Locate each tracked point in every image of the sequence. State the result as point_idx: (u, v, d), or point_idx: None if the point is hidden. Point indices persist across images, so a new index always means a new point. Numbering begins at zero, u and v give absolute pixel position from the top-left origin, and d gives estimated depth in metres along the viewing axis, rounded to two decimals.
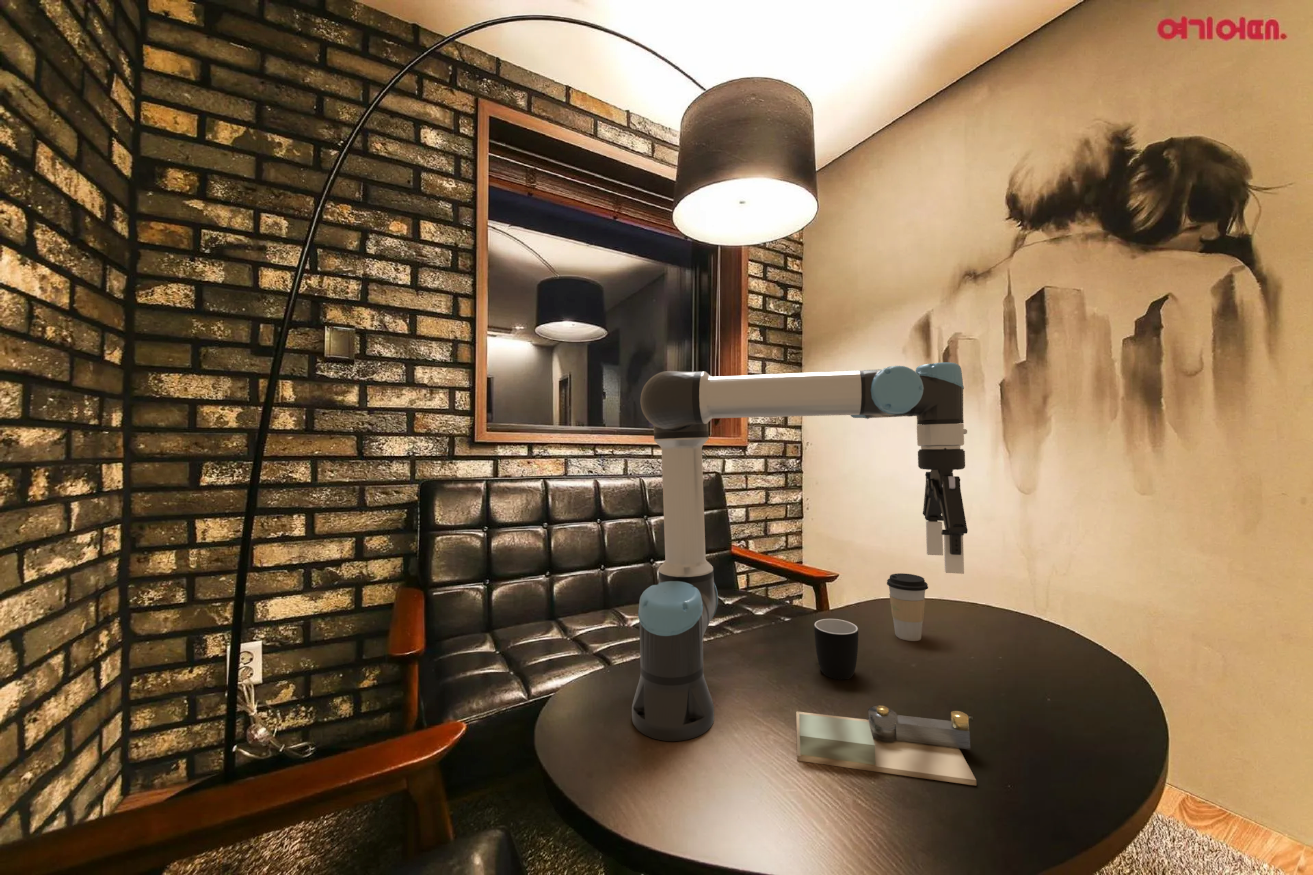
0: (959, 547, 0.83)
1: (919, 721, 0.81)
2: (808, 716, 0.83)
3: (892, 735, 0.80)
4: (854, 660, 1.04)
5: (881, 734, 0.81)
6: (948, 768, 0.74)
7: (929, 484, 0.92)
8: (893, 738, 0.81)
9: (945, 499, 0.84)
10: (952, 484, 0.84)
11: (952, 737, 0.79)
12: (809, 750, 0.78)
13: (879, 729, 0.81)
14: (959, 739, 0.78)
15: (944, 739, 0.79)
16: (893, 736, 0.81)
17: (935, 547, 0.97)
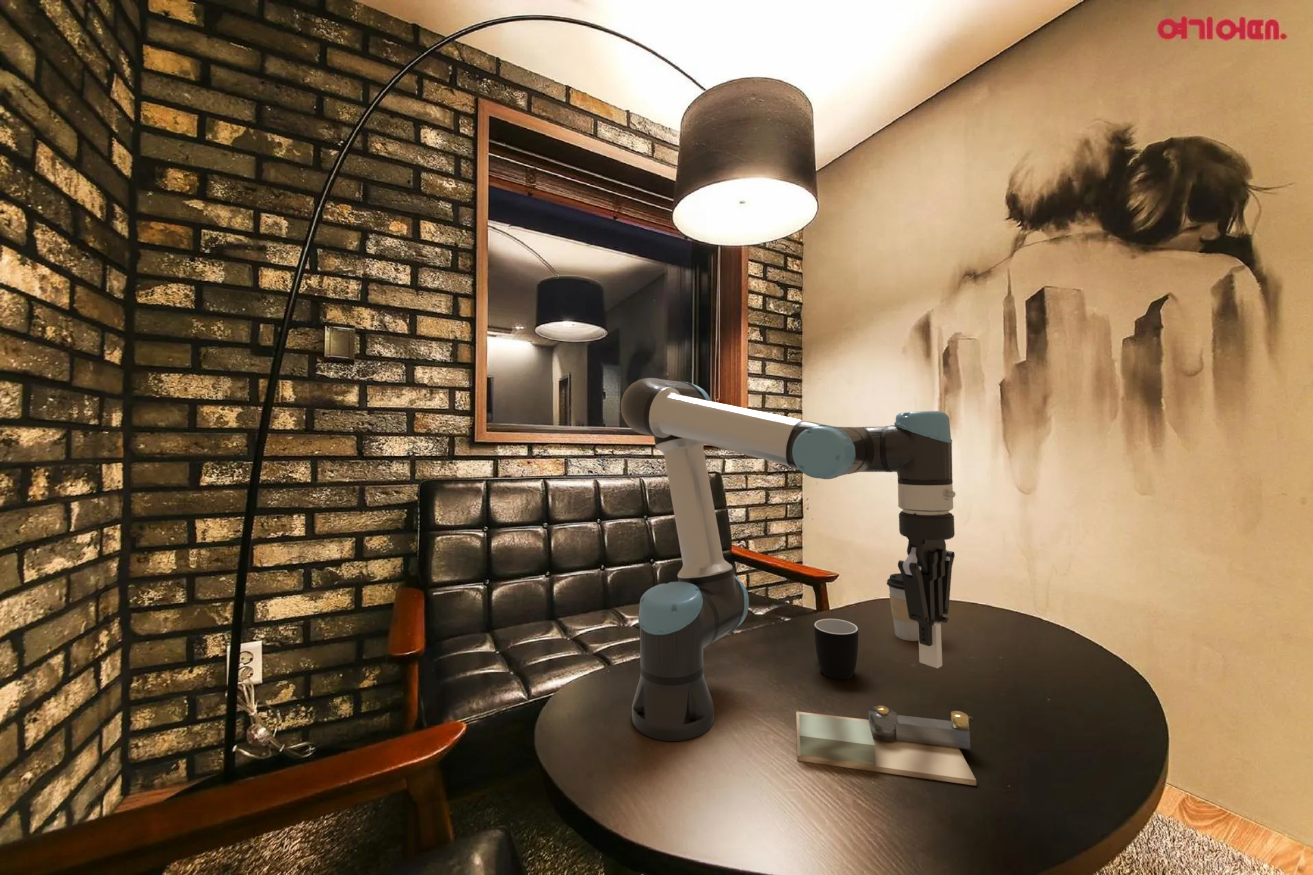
0: (926, 637, 0.75)
1: (919, 721, 0.81)
2: (808, 716, 0.83)
3: (892, 735, 0.80)
4: (854, 660, 1.04)
5: (881, 734, 0.81)
6: (948, 768, 0.74)
7: None
8: (893, 738, 0.81)
9: None
10: (908, 572, 0.73)
11: (952, 737, 0.79)
12: (809, 750, 0.78)
13: (879, 729, 0.81)
14: (959, 739, 0.78)
15: (944, 739, 0.79)
16: (893, 736, 0.81)
17: None
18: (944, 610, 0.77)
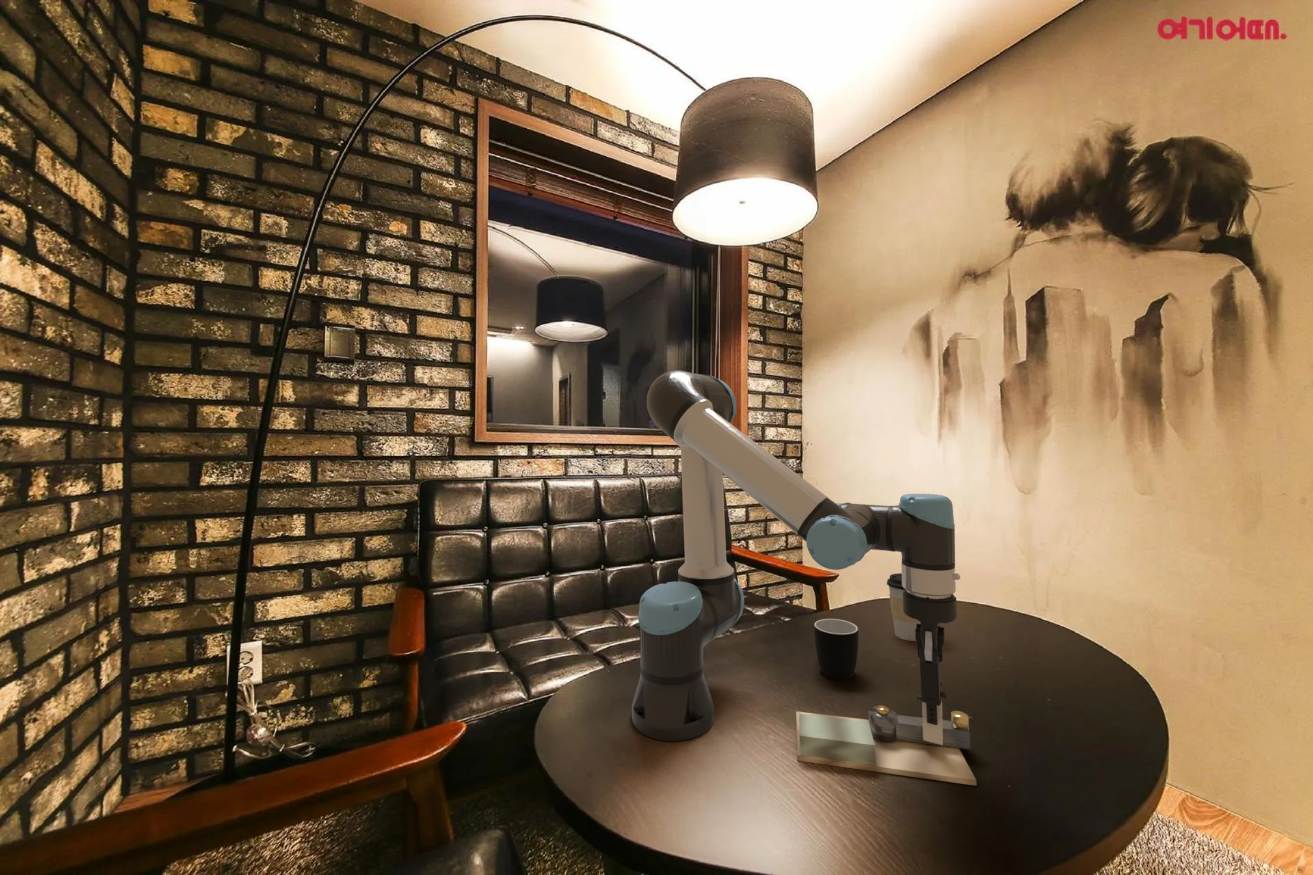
0: (935, 717, 0.77)
1: (919, 721, 0.81)
2: (808, 716, 0.83)
3: (892, 735, 0.80)
4: (854, 660, 1.04)
5: (881, 734, 0.81)
6: (948, 768, 0.74)
7: (917, 629, 0.80)
8: (893, 738, 0.81)
9: None
10: (928, 659, 0.74)
11: (952, 737, 0.79)
12: (809, 750, 0.78)
13: (879, 729, 0.81)
14: (959, 739, 0.78)
15: (944, 739, 0.79)
16: (893, 736, 0.81)
17: None
18: None
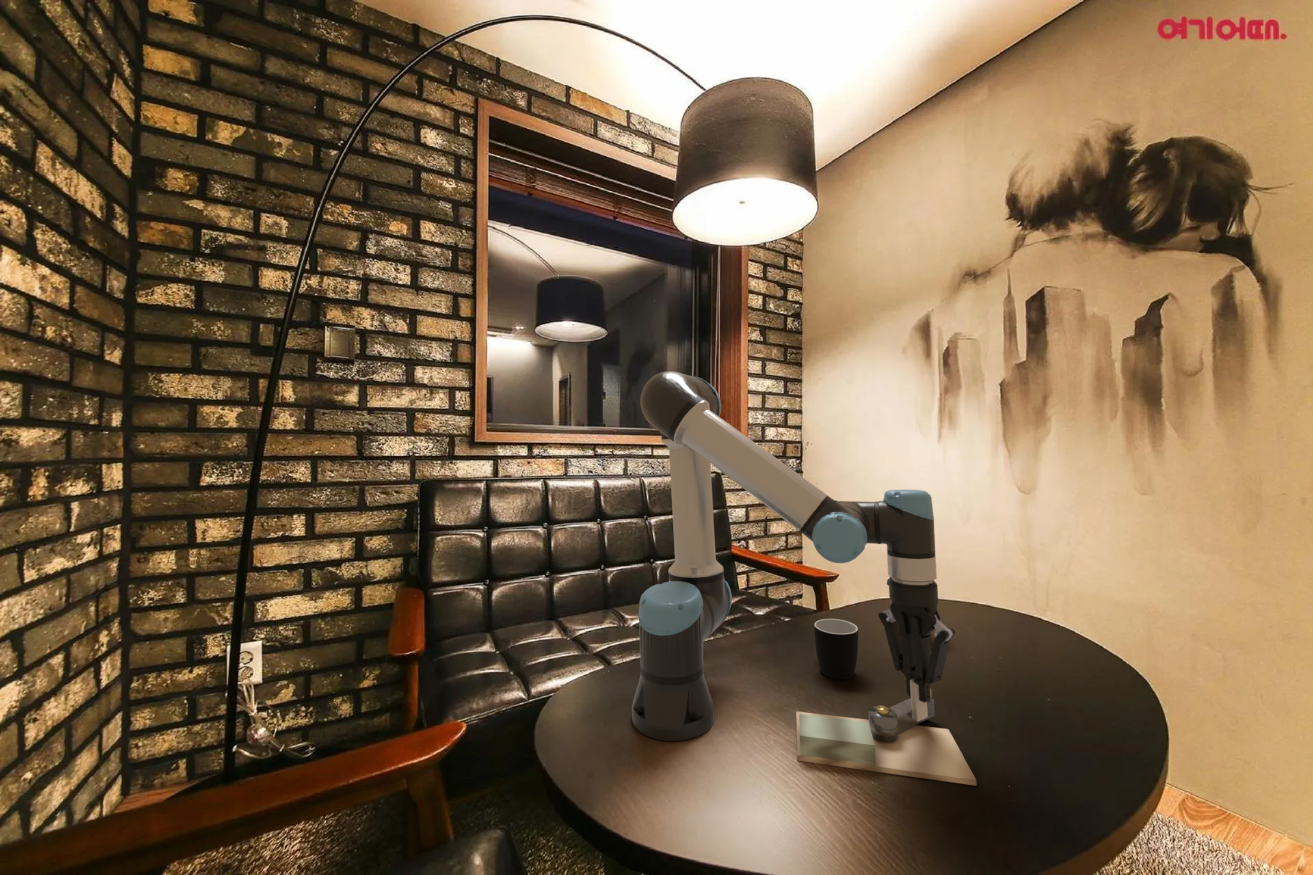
0: (929, 693, 0.83)
1: (903, 707, 0.85)
2: (808, 716, 0.83)
3: (897, 731, 0.81)
4: (854, 660, 1.04)
5: (892, 735, 0.80)
6: (948, 768, 0.74)
7: (903, 618, 0.85)
8: (897, 734, 0.82)
9: (936, 652, 0.81)
10: (948, 639, 0.80)
11: None
12: (809, 750, 0.78)
13: (890, 730, 0.80)
14: (929, 710, 0.87)
15: None
16: (897, 732, 0.82)
17: None
18: None
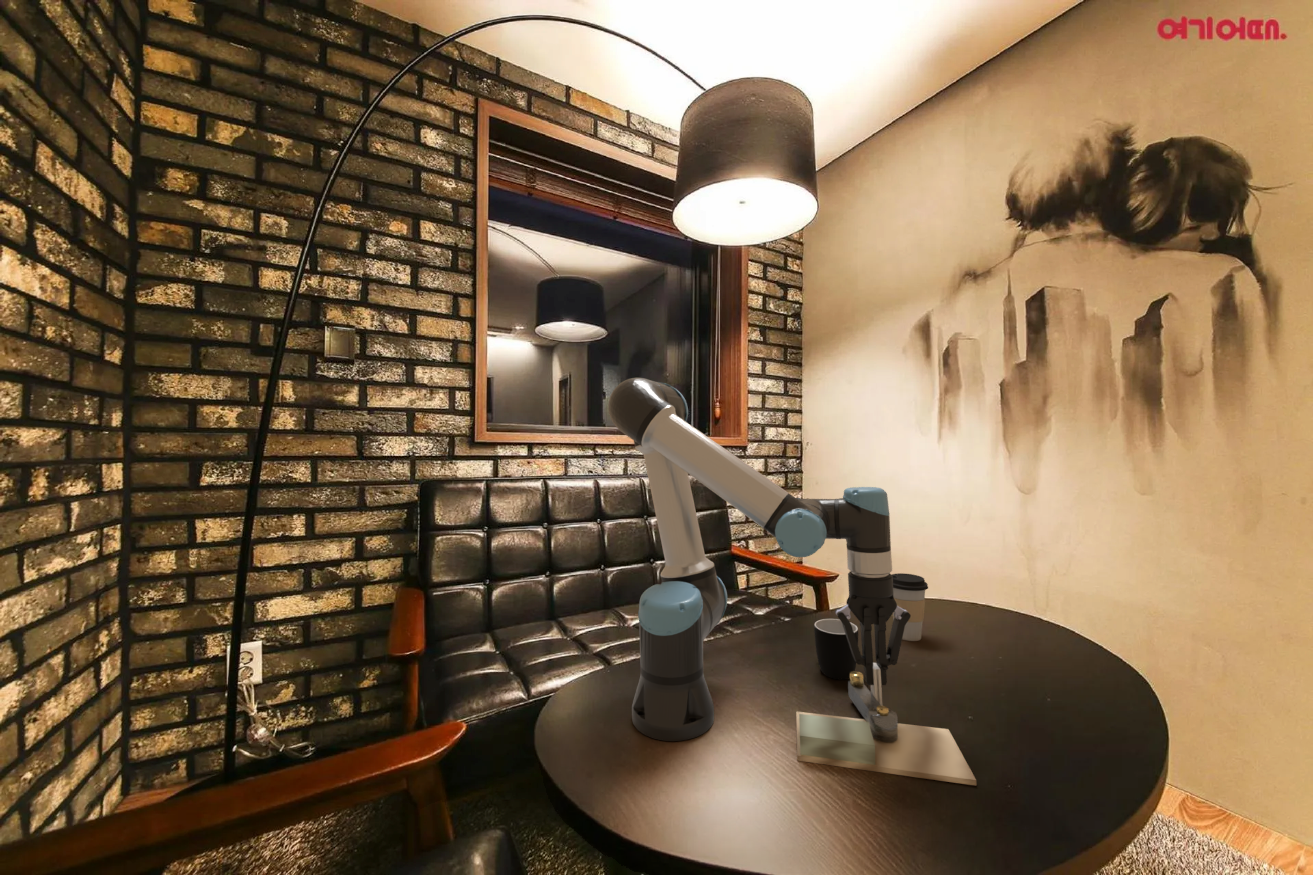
0: None
1: (869, 699, 0.88)
2: (808, 716, 0.83)
3: None
4: (854, 660, 1.04)
5: (897, 729, 0.82)
6: (948, 768, 0.74)
7: (870, 611, 0.88)
8: None
9: (900, 633, 0.88)
10: None
11: None
12: (809, 750, 0.78)
13: (897, 726, 0.82)
14: None
15: None
16: None
17: None
18: None
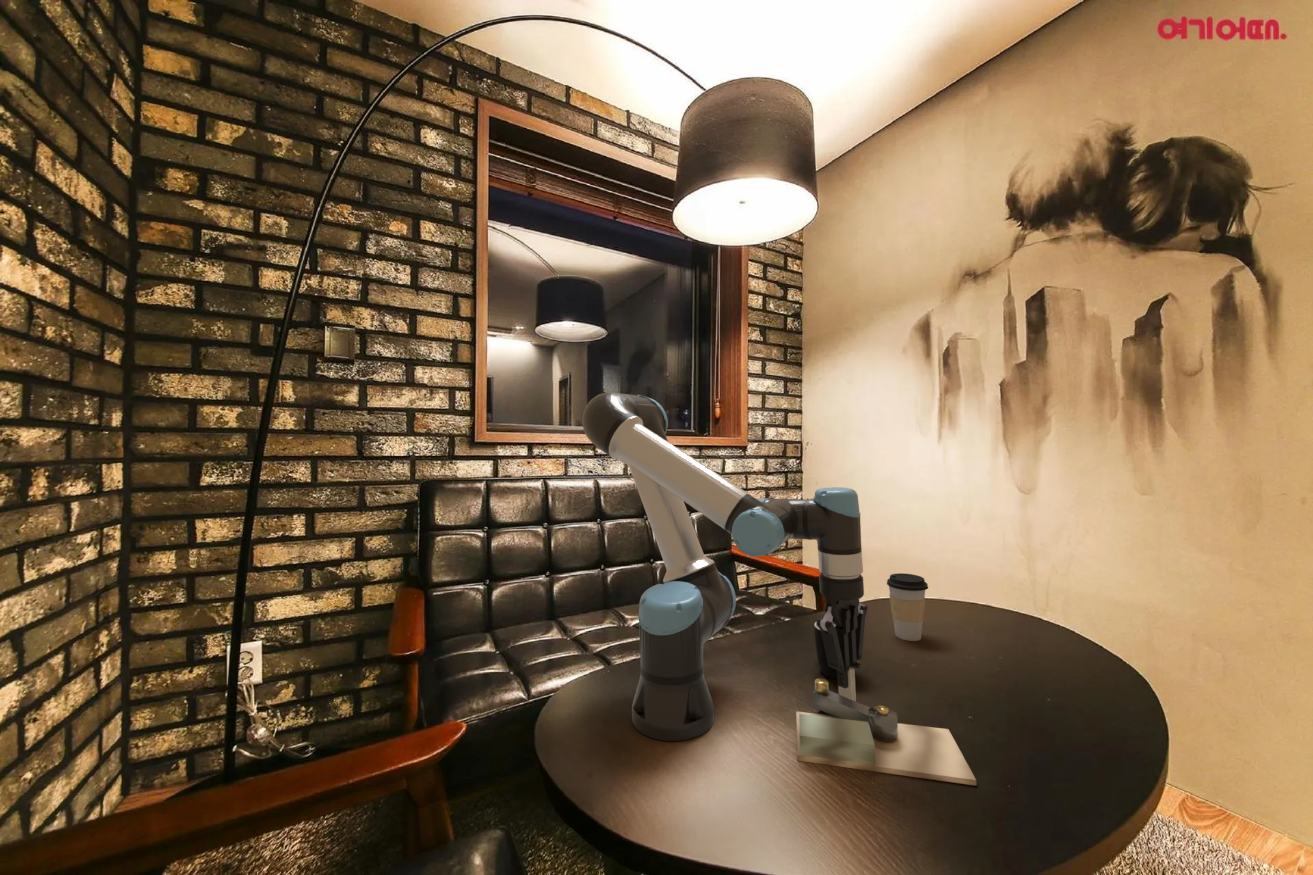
0: None
1: (851, 704, 0.87)
2: (808, 716, 0.83)
3: None
4: None
5: None
6: (948, 768, 0.74)
7: None
8: None
9: (862, 627, 0.91)
10: None
11: None
12: (809, 750, 0.78)
13: None
14: None
15: None
16: None
17: None
18: None
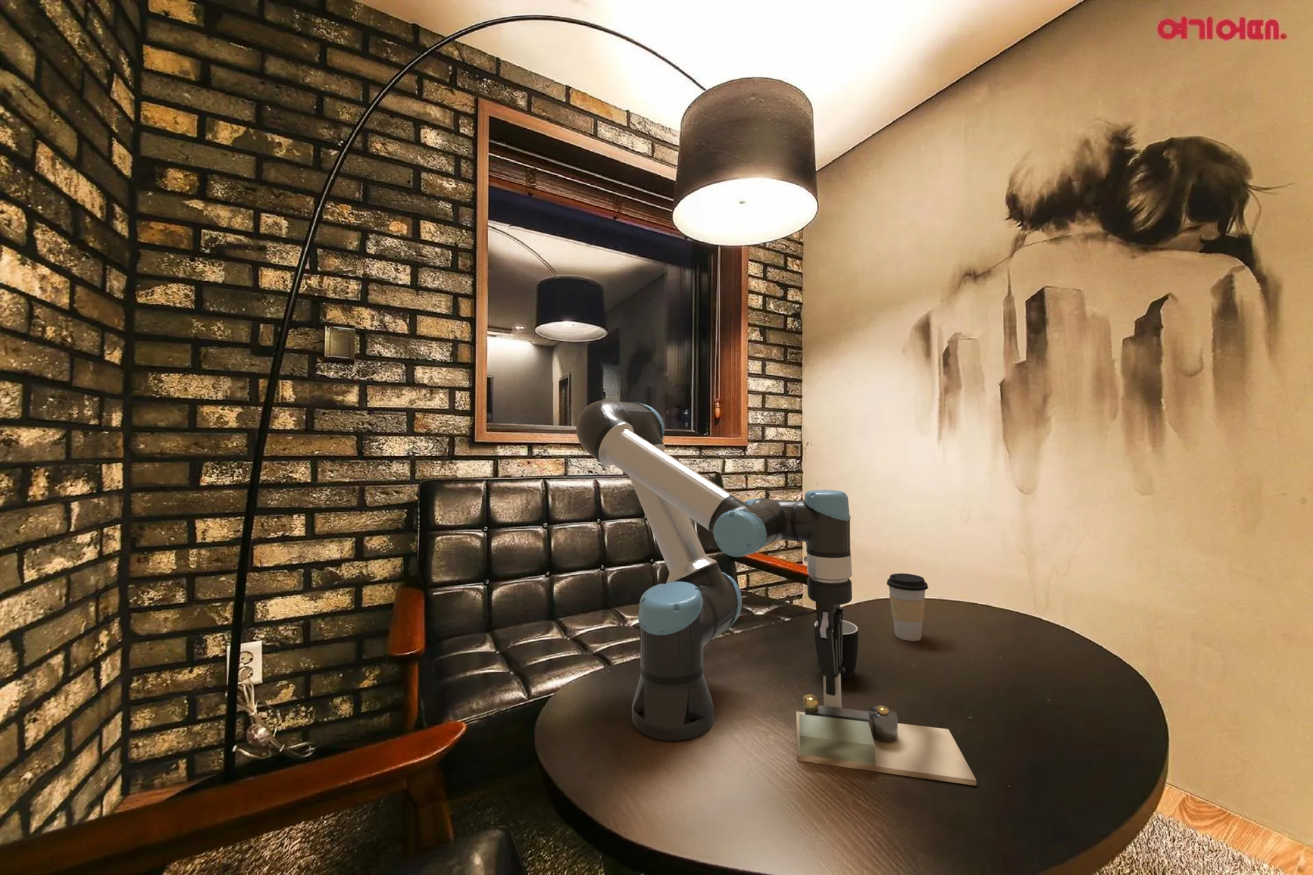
0: None
1: (847, 712, 0.84)
2: (808, 716, 0.83)
3: None
4: (854, 660, 1.04)
5: None
6: (948, 768, 0.74)
7: None
8: None
9: (842, 629, 0.91)
10: None
11: None
12: (809, 750, 0.78)
13: None
14: None
15: None
16: None
17: None
18: None
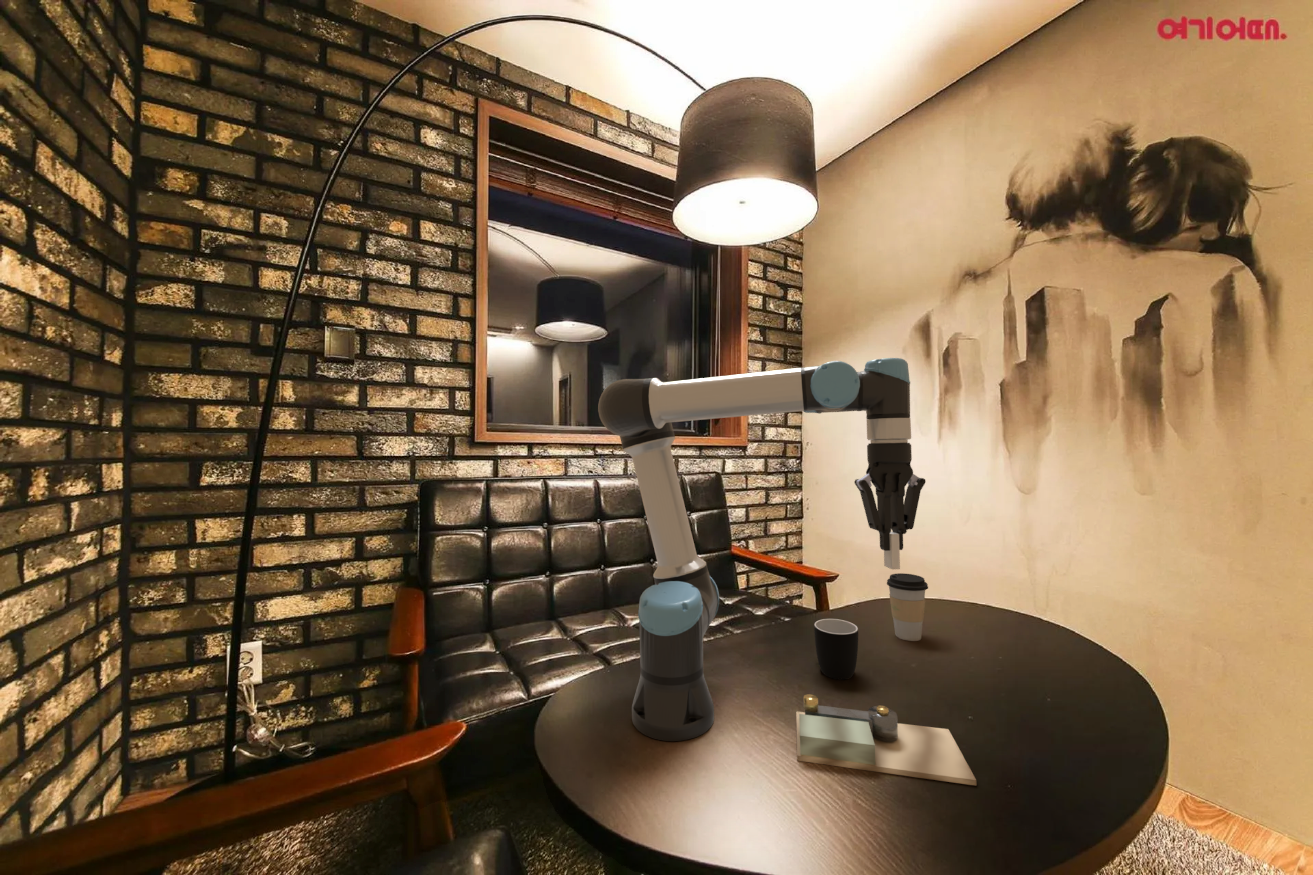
0: None
1: (847, 712, 0.84)
2: (808, 716, 0.83)
3: None
4: (854, 660, 1.04)
5: None
6: (948, 768, 0.74)
7: (891, 477, 0.91)
8: None
9: (916, 498, 0.92)
10: None
11: None
12: (809, 750, 0.78)
13: None
14: None
15: None
16: None
17: None
18: None
